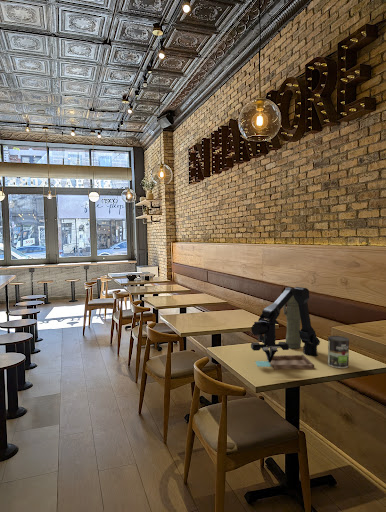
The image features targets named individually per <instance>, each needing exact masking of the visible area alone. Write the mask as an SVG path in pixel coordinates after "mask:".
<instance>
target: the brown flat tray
mask: <svg viewBox="0 0 386 512" xmlns="http://www.w3.org/2000/svg"><path fill="white" fill-rule="evenodd" d="M266 360H267V361H268V359H267V358H266ZM270 365H271V367H272V368H273V369H274V370H306V369H307V370H311V369H312V370H314V369H315V364H314V363H313V362H311V361H310V360H309V359H308V358H307V357H306V356H305V354H287V355H286V354H285V355H274V356H273V358H272V360H271V363H270Z"/></svg>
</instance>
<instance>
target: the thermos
mask: <svg viewBox="0 0 386 512" xmlns="http://www.w3.org/2000/svg"><path fill="white" fill-rule="evenodd" d="M286 305H287V306H286ZM283 315H285V318H286V334H285V342H286V343H287V344H288V345H289V349H290V350H299V349H301V345H302V340H301V338H300V334H299V331H300V330H301V318H300V312H299V306H298V303H297V301H296V300H295V299H294V296H292V297H291V298H290V299H289V301H288V302H287V303H286V304H285V305H284V306H283Z"/></svg>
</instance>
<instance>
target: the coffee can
mask: <svg viewBox="0 0 386 512" xmlns="http://www.w3.org/2000/svg"><path fill="white" fill-rule="evenodd" d="M327 341H328V342H327V349H328V350H327V365H328V366H329V367H332V368H336V369H346V368H348V367H349V362H350V361H349V359H350V358H349V357H350V355H349V354H350V338H348V337H345V336H340V335H330V336H328V337H327Z"/></svg>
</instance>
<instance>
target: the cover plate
mask: <svg viewBox="0 0 386 512" xmlns="http://www.w3.org/2000/svg"><path fill="white" fill-rule="evenodd" d="M255 364H256V367H259V368H261V367H269V368H270V367H272V365H271V364H270V363H269V362H268V360H267V361H266V360H264V361H263V360H261V361H260V360H256V361H255Z"/></svg>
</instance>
